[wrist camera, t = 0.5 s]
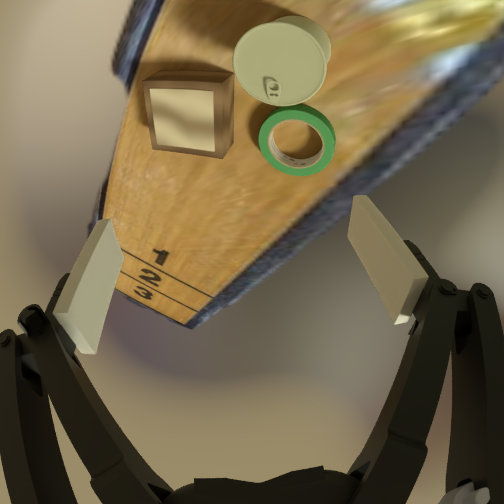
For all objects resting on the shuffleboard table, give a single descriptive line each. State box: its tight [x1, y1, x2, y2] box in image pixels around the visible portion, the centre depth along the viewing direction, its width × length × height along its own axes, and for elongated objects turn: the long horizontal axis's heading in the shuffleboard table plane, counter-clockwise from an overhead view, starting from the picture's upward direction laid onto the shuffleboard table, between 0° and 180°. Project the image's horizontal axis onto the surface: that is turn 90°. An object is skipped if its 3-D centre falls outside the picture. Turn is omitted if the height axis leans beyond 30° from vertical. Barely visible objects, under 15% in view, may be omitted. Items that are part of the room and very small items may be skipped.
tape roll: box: [258, 104, 335, 176], centre depth 41 cm, size 11×11×3 cm
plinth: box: [142, 71, 234, 159], centre depth 40 cm, size 12×12×5 cm
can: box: [233, 16, 331, 106], centre depth 27 cm, size 9×9×12 cm
